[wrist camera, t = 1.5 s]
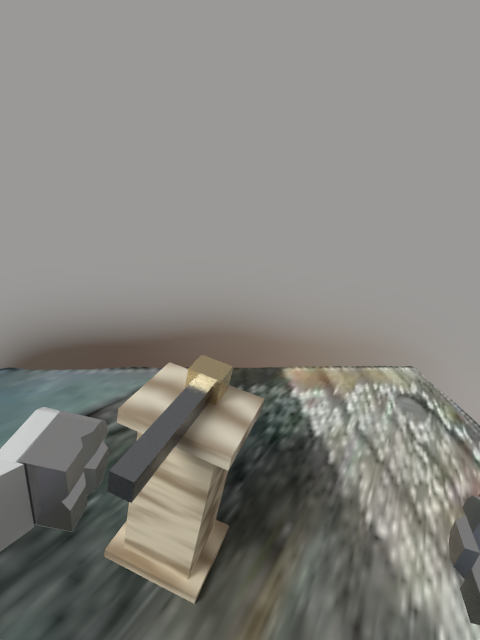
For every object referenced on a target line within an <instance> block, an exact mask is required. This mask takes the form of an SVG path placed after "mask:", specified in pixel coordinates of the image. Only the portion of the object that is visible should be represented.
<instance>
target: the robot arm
mask: <svg viewBox="0 0 480 640" xmlns="http://www.w3.org/2000/svg"><path fill="white" fill-rule="evenodd" d="M106 435H107V423H106V422H105V421H103V420H99V419H95V418H91V417H86V416H82V415H78V414H73V413H69V412H65V411H58V410H54V409H50V408H46V407H42V408H40V409H37V410H36V411H35V412H34V413H33V414H32V415H31V416H30V417H29V418H28V420H27V421H26V422H25V423H24V424H23V425H22V426H21V427H20V428H19V429H18V430H17V432H16V433H15V434H14V435H13V436H12V437H11V438H10V439H9V440H8V441H7V442H6V444H5V445H4V446H3V447H2V448H1V449H0V551H2V550H3V549H4V548H6V547H7V546H8V545H10V544H11V543H13V542H14V541H15V540H17V539H18V538H20V537H21V536H22V535H24V534H25V533H26V532H28V531H29V530H31V529H32V528H33V527H34V524H35V525H40V526H45V527H50V528H55V529H60V530H65V531H70V532H73V530H74V528H75V526H76V525H77V523H78V521H79V519H80V518H81V516H82V514H83V512H84V511H85V509H86V507H87V495H88V494H89V493H91V492H93V491H94V490H96V489H97V488H98V486H99V484H100V482H101V480H102V478H103V475H104V472H105V469H106V467H107V461H108V447H107V446H106V445H105V443H104V442H103V440H104V438H105V437H106ZM463 509H464V511H465V514H466V516H464V517H462V518H460V519H458V520H456V521H455V523H454V525H453V527H452V529H451V531H450V538H449V550H450V556H451V560H452V563H453V567H454V568H455V569H456V570H457V571H458V573H459V574H460V575H461V576H462V577H463V578H464V581H463V583H462V585H461V587H460V590H461V593H462V597H463V600H464V603H465V606H466V609H467V613H468V616H469V619H470V622H471V623H474V624H478V625H480V497H478V496H471V497H470V498H468V499H467V501H466V502H465V504H464V506H463Z"/></svg>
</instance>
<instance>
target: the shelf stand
mask: <svg viewBox="0 0 480 640" xmlns="http://www.w3.org/2000/svg"><path fill="white" fill-rule="evenodd" d="M187 373H188V369H185V368H183V367H180V366H177V365H175V364H172V363H168V364H167V365H166V366H165V367H164V368H163V369H162V370H161V371H159V372H158V373H157V374H156V375H155V376H154V377H153V378H152V379H151V380H149V381H148V382H147V383H146V384H145V385H144V386H143V387H142V388H141V389H140V390H138V391H137V392H136V393H135V394H134V395H133V396H132V397H131V398H130V399H128V400H127V401H126V402H125V403H124V404H123V405H122V406H121V407H120V408H118V418H117V423H120V424H122V425H124V426H127V427H129V428H131V429H133V430H136V431H138V436H137V440H138V439H139V438H140V437H141V436H142V435H143V434H144V433H145V431H146V430H147V429H148V428H149V427H150V426H151V425H152V424H153V423H154V422H155V421H156V419H157V418H158V417H159V416H160V415H161V414H162V413H163V412H164V411H165V410H166V409H167V408H168V406H169V405H170V404H171V403H172V402H173V401H174V400H175V399H176V398H177V397H178V396H179V394H180V393H181V392H182V391H183V390H184V389H185V384H186V378H187ZM263 402H264V399H263V398H261V397H258V396H256V395H253V394H250V393H248V392H245V391H243V390H240V389H237V388H235V387H232V386H230V385H229V386H228V390H227V391H226V392H225V394H224V395H223V397H222V398H221V399H220V401H219V402H218V403H217V405H214V404H211V403H208V405H207V406H206V407H205V408H204V410H203V411H202V412H201V414H200V415H199V416H198V417H197V419H196V420H195V421H194V423H193V424H192V425H191V427H190V428H189V429H188V430H187V432H186V433H185V434H184V436H183V437H182V438H181V440H180V441H179V442H178V443H177V445H176V446H175V447H174V449H173V450H172V451H171V452H170V454H169V455H168V456H167V458H166V459H165V460H164V462H163V463H162V464H161V465H160V467H159V468H158V469H157V471H156V472H155V473H154V475H153V476H152V477H151V478H150V480H149V481H148V482H147V484H146V485H145V486H144V487H143V489H142V490H141V491H140V493H139V494H138V495H137V497H136V498H135V499H134V500H133V502H132V503H131V502H129V508H128V517H127V521H126V522H125V524H124V525H123V526H122V528H121V529H120V530H119V532H118V533H117V534H116V536H115V537H114V538H113V540H112V541H111V542H110V544H109V545H108V546H107V548H106V549H105V555H104V557H106V558H108V559H110V560H112V561H114V562H115V563H117V564H119V565H121V566H123V567H125V568H127V569H129V570H131V571H133V572H135V573H136V574H138V575H140V576H142V577H144V578H146V579H148V580H150V581H152V582H154V583H156V584H157V585H159V586H161V587H163V588H165V589H167V590H169V591H171V592H173V593H175V594H177V595H178V596H180V597H182V598H184V599H186V600H188V601H190V602H192V603H194V604H195V601H196V599H197V597H198V595H199V593H200V591H201V588H202V586H203V584H204V582H205V580H206V578H207V575H208V573H209V571H210V569H211V567H212V564H213V562H214V560H215V558H216V556H217V554H218V551H219V549H220V547H221V545H222V543H223V541H224V538H225V536H226V534H227V532H228V528H229V525H227V524H225V523H222V522H220V521H218V520H216V517H217V513H218V509H219V505H220V501H221V497H222V493H223V489H224V485H225V481H226V477H227V474H228V471H229V469H230V467H231V465H232V463H233V461H234V460H235V458H236V456H237V454H238V452H239V450H240V449H241V447H242V445H243V443H244V441H245V439H246V438H247V436H248V434H249V432H250V430H251V428H252V427H253V425H254V423H255V421H256V419H257V417H258V416H259V414H260V412H261V409H262V406H263Z"/></svg>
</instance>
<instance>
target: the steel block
mask: <svg viewBox="0 0 480 640" xmlns="http://www.w3.org/2000/svg"><path fill="white" fill-rule="evenodd" d="M232 369H233V366H230V365H228V364H225V363H222V362H220V361H217V360H214V359H212V358H209V357H206V356H204V355H201V356H200V357H199V358H198V359H197V360H196V361H195V362H194V363H193V364H192V366H190V367H189V368H188V373H187V378H186V384H185V389H184V390H183V391H182V392H181V393H180V394H179V396H178V397H177V398H176V399H175V400H174V401H173V402H172V403H171V404H170V405H169V406H168V408H167V409H166V410H165V411H164V412H163V413H162V414H161V415H160V416H159V417H158V418H157V419H156V421H155V422H154V423H153V424H152V425H151V426H150V427H149V428H148V429H147V430H146V431H145V433H144V434H143V435H142V436H141V437H140V438H139V439H138V440H137V441H136V442H135V443H134V445H133V446H132V447H131V448H130V449H129V450H128V451H127V452H126V453H125V454H124V455H123V456H122V458H121V459H120V460H119V461H118V462H117V463H116V464H115V465H114V466H113V467H112V468H111V470H110V471H109V479H108V490H107V491H108V492H110V493H112V494H114V495H116V496H118V497H120V498H122V499H124V500H126V501H128V502H131V503H132V502H133V500H134V499H135V498H136V497H137V495H138V494H139V493H140V491H141V490H142V489H143V487H144V486H145V485H146V484H147V482H148V481H149V480H150V478H151V477H152V476H153V475H154V473H155V472H156V471H157V469H158V468H159V467H160V465H161V464H162V463H163V462H164V460H165V459H166V458H167V456H168V455H169V454H170V452H171V451H172V450H173V449H174V447H175V446H176V445H177V443H178V442H179V441H180V440H181V438H182V437H183V436H184V434H185V433H186V432H187V430H188V429H189V428H190V427H191V425H192V424H193V423H194V421H195V420H196V419H197V417H198V416H199V415H200V414H201V412H202V411H203V410H204V408H205V407H206V406H207V405H208V403H211V404H214V405H217V403H218V402H219V401H220V399H221V398H222V397H223V395H224V394H225V392H226V391H227V390H228V386H229V382H230V377H231V373H232Z"/></svg>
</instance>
